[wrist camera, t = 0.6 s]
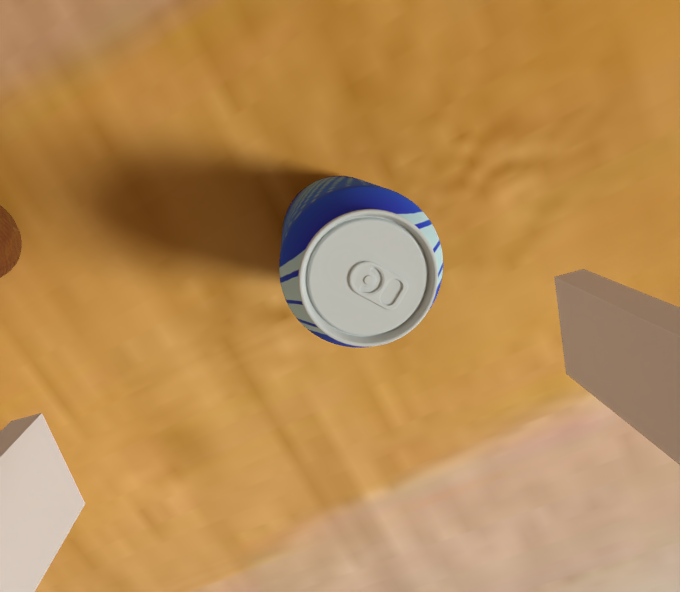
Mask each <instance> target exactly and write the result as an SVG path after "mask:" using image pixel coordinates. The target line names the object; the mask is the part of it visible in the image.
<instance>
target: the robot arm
mask: <svg viewBox="0 0 680 592" xmlns="http://www.w3.org/2000/svg"><path fill="white" fill-rule="evenodd" d="M555 285H556V293H557V302H558V310H559V318H560V327H561V335H562V343H563V352H564V360H565V368H566V374H567V375H569V376H570V377H571V378H572V379H573V380H575V381H576V382H577V383H578V384H580V385H581V386H582V387H583V388H585V389H586V390H587V391H588V392H590V393H591V394H592V395H593V396H595V397H596V398H597V399H598V400H600V401H601V402H602V403H603V404H605V405H606V406H607V407H608V408H610V409H611V410H612V411H613V412H615V413H616V414H617V415H618V416H620V417H621V418H622V419H623V420H625V421H626V422H627V423H628V424H630V425H631V426H632V427H633V428H635V429H636V430H637V431H638V432H640V433H641V434H642V435H643V436H645V437H646V438H647V439H648V440H650V441H651V442H652V443H653V444H655V445H656V446H657V447H658V448H660V449H661V450H662V451H663V452H665V453H666V454H667V455H668V456H669V457H671V458H672V459H673V460H674V461H676V462H677V463H678V464H679V465H680V308H679V307H677V306H674V305H672V304H669V303H667V302H664V301H662V300H659V299H657V298H654V297H652V296H649V295H647V294H644V293H642V292H639V291H637V290H634V289H632V288H629V287H627V286H625V285H622V284H620V283H617V282H615V281H612V280H610V279H607V278H605V277H602V276H600V275H597V274H595V273H592V272H590V271H587V270H585V269H582V270H578V271H575V272H571V273H567V274H563V275H560V276H556V277H555ZM84 505H85V502H84V500H83V498H82V496H81V494H80V492H79V490H78V488H77V486H76V484H75V481H74V479H73V477H72V475H71V473H70V471H69V469H68V467H67V465H66V463H65V460H64V458H63V456H62V454H61V452H60V450H59V448H58V446H57V444H56V442H55V439H54V437H53V435H52V433H51V431H50V429H49V427H48V425H47V423H46V421H45V418H44V416H43V414H42V413H40V414H36V415H33V416H29V417H25V418H21V419H18V420H14V421H11V422H10V423H9V424H8V425H7V426H6V427H5V428H4V429H3V430H2V431H1V432H0V592H35V590H36V588H37V587H38V585H39V583H40V581H41V580H42V578H43V576H44V574H45V573H46V571H47V569H48V568H49V566H50V564H51V562H52V561H53V559H54V557H55V555H56V554H57V552H58V550H59V548H60V547H61V545H62V543H63V542H64V540H65V538H66V536H67V535H68V533H69V531H70V529H71V528H72V526H73V524H74V522H75V521H76V519H77V517H78V516H79V514H80V512H81V510H82V509H83V507H84Z"/></svg>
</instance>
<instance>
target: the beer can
mask: <svg viewBox="0 0 680 592" xmlns="http://www.w3.org/2000/svg"><path fill="white" fill-rule="evenodd" d="M279 273H280V282H281V287H282V291H283V294H284V296H285V299H286V301H287V303H288V305H289V307H290V309H291V311H292V312H293V314H294V315H295V316H296V318H297V319H298V320H299V321H300V322H301V323H302V324H303V325H304V326H305V327H306V328H307V329H308V330H309V331H311V332H312V333H314V334H315V335H317V336H318V337H320V338H322V339H324V340H326V341H328V342H331V343H334V344H337V345H342V346H347V347H371V346H378V345H383V344H387V343H390V342H392V341H395V340H397V339H399V338H401V337H403V336H404V335H406V334H407V333H409V332H410V331H411V330H412V329H414V328H415V327H416V326H417V325H418V324H419V323H420V322H421V320H422V319H423V318H424V317H425V315H426V314H427V312H428V311H429V309H430V308H431V306H432V304H433V302H434V300H435V298H436V296H437V294H438V291H439V288H440V284H441V280H442V273H443V255H442V249H441V245H440V241H439V238H438V235H437V233H436V231H435V229H434V227H433V225H432V223H431V222H430V220H429V219H428V217H427V216H426V215H425V214H424V212H423V211H422V210H421V209H420V208H419V207H418V206H417V205H415V204H414V203H413V202H412V201H410V200H409V199H407V198H406V197H404V196H403V195H401V194H399V193H397V192H394V191H392V190H389V189H386V188H383V187H380V186H377V185H374V184H371V183H368V182H365V181H362V180H359V179H356V178H353V177H347V176H333V177H327V178H323V179H320V180H318V181H316V182H313V183H312V184H310V185H308V186H307V187H306V188H304V189H303V190H302V191H301V192H300V193H299V194H298V195H297V196H296V197H295V198H294V200H293V201H292V203H291V204H290V206H289V208H288V210H287V213H286V215H285V219H284V224H283V232H282V242H281V252H280V263H279Z"/></svg>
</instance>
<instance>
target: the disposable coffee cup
mask: <svg viewBox="0 0 680 592" xmlns="http://www.w3.org/2000/svg"><path fill="white" fill-rule="evenodd" d="M20 252H21V237H20V232H19V230H18V227H17V225H16V223H15V221H14V220H13V218H12V217H11V215H10V214H9V213H8V212H7V211H6V210H5V209H4V208H3V207H1V206H0V278H1V277H2V276H3V275H5V274H7V273H8V272H9V271H10V270H11V269H12V268H13V267H14V266H15V265H16V263H17V261H18V259H19V256H20Z"/></svg>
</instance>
